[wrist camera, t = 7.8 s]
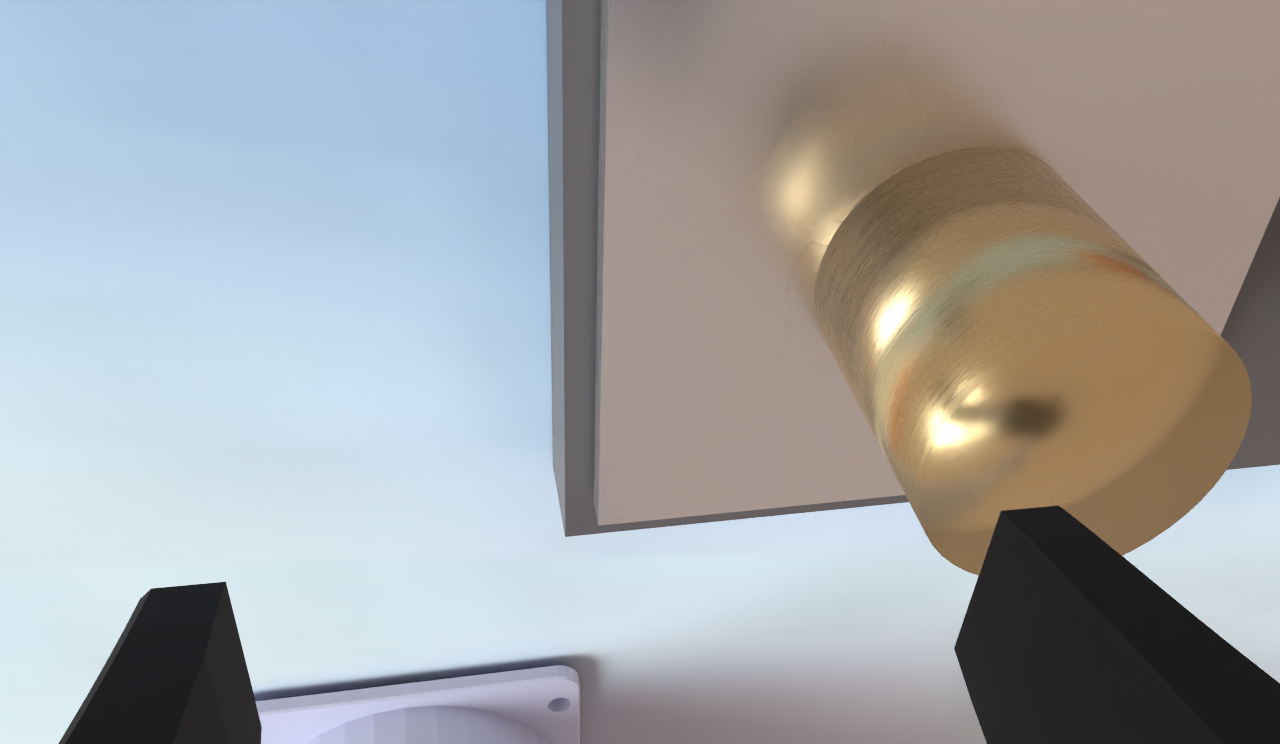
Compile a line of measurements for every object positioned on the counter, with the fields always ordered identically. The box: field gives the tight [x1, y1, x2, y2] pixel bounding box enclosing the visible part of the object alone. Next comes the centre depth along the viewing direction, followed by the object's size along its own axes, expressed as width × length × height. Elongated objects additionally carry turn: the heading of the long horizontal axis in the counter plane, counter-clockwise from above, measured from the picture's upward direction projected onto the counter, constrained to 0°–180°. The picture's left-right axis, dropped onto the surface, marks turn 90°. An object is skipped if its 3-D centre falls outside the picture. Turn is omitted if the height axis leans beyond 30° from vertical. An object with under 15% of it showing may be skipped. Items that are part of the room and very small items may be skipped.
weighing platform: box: [594, 0, 1280, 526], centre depth 18 cm, size 10×11×1 cm
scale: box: [546, 0, 1280, 537], centre depth 19 cm, size 12×15×3 cm
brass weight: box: [814, 147, 1252, 575], centre depth 16 cm, size 4×4×4 cm
